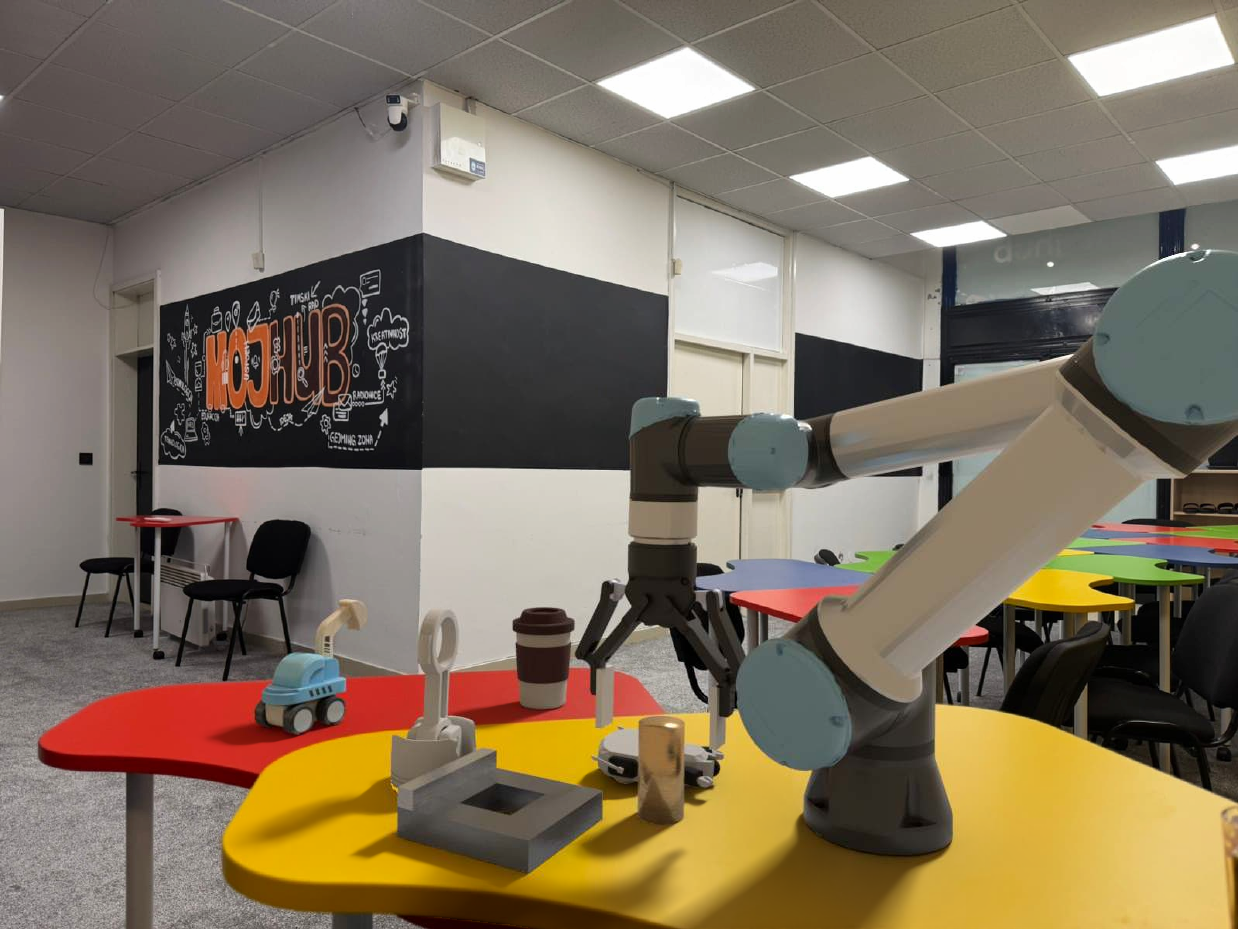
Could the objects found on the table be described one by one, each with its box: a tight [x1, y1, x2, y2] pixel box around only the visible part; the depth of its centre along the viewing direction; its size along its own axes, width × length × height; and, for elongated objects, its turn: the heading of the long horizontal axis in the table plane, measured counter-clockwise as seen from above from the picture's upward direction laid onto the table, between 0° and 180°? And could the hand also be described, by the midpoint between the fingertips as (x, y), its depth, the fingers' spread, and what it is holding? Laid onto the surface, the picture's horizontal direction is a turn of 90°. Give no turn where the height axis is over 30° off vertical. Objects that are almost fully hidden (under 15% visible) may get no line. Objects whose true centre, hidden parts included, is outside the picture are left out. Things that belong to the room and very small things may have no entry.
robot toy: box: [590, 725, 725, 789], centre depth 102 cm, size 12×4×15 cm
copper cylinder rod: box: [637, 715, 686, 826], centre depth 90 cm, size 5×5×10 cm
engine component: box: [390, 607, 478, 788], centre depth 100 cm, size 11×20×10 cm
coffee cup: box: [511, 606, 576, 710], centre depth 133 cm, size 10×10×15 cm
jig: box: [396, 747, 604, 874], centre depth 87 cm, size 16×14×5 cm
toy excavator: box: [253, 598, 368, 736], centre depth 123 cm, size 9×17×17 cm, turn 148°
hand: (658, 735), depth 91 cm, fingers open, 13 cm apart
